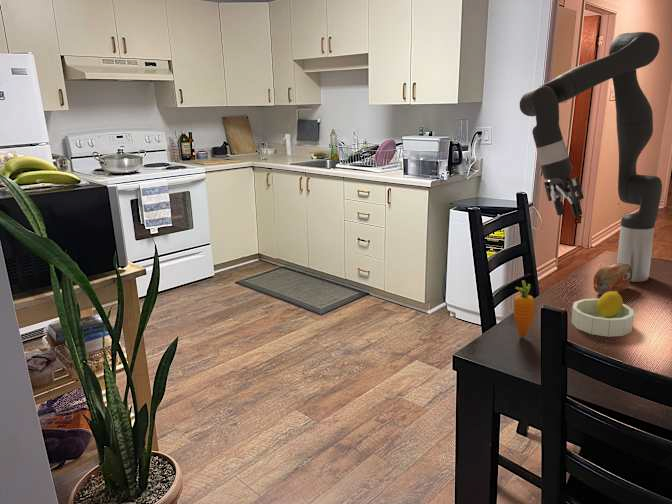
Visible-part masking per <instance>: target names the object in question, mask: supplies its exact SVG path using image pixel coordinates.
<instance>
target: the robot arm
mask: <svg viewBox="0 0 672 504" xmlns="http://www.w3.org/2000/svg"><path fill="white" fill-rule="evenodd" d="M660 46H661V42H660V40H659V37H658V36H657V35H656V34H654V33H652V32H649V31H637V32H627V33H626V32H625V33H620V34H618V35H617V36H616V37H614V39H612V41H611V43H610V47H609V51H608V55H607V56H604V57H601V58H598V59H595V60H592V61H589V62H585V63H583V64H579V65H578V66H576V67H573V68H571V69H569V70H567V71H565V72H563V73H562V74H560V75H558V76H557V77H555V78H553V79H552V80H550V81H548V82H546V83H544V84H542V85H539V86H537V87H534V88H533V89H531V90H529V91H527V92H525V93H524V94H523V95H522V97H521V98H520V100H519V110H520V112H521V114H522V113H523V115H525V116H527V117H535V122H536V125H535V126H534V127H533V128H532V137H533V141H534V144H535V147H536V152H537V158H538V161H539V166H540V169H541V172H542V176H543V179H544V180H545V181H544V182H543V185H544V189H545V192H546V193H545V194H546V196H547V200H548V202H552V204H553V205H554V209H555V211H556V215H557V216H563V215H565V214H566V209H565V205H564V202H563V201H562V199H563V198H564V199H567V201H568V202H569V203H570V207H571V211H572V215H573V217H579V216H583V211H582V210H583V209H582V207H581V203H580V201H581V200H583V199H584V194H583V191H582V188H581V184H580V181H579V179H578V177H574V178H571V177H570V174H571V173H573V171H574V170H573V169H574V168H573V166H572V162H571V158H570V154H569V151H568V147H567V146H566V143H565V141H564V137H563V133H562V130H561V127H560V105H559V104H560V103H562V102H566V101H568V100H571V99H573V98H574V97H576V96H577V97H578V96H579V95H580V94H582V93H584V92H586V91H588V90H590V89H592V88H594V87H596V86H598V85H600V84H602V83H604V82H606V81H609V80H612V84H613V89H614V91H613V92H614V101H615V102H614V103H615V113H616V116H615V119H616V120H615V121H616V122H615V123H616V134H617V145H618V177H617V194H618V197H619V200H620V201H621V202H622V203H624V204H630V205H635V206H636V205H637V206H639V209H638V211H637V212H635V213H629V214H625V215H623V216H622V217H621V219H620V220H621V221H620V230H619V239H618V240H619V241H618V249H617V259H616V263H623V264H628V265H629V266H630V267H631V269H632V278H631V282H633V283H634V282H636V283H637V282H638V283H641V282H645V281H648V279H649V277H650V270H651V261H652V255H653V254H652V253H653V249H652V248H653V243H654V235H655V227H656V226H655V225H656V220H657V218H658V215H659V207H660V204H661V203H660V202H661V197H662V193H663V192H662V191H663V184H662V183H663V181H662V180H661V178H660V177H659V176H656V175H647V174H646V175H645V174H638V173H637V162H638V158H639V157H640V155H641V153H642V152H643V150H644V149H645V148H646V146H647V145H648V143H649V142H650V140H651V138H652V137H653V134H654V119H653V117H654V116H653V115H654V114H653V109H652V106H651V104H650V102H649V100H648V98H647V97H646V95H645V93H644V91H643V89H642V88H641V86H640V84H639V80H638V75H637V69H641V68H644V67H647V66H648V65H650V64H651V63H653V61H654V60H655V59H656V58H657V56H658V54H659V51H660V48H661V47H660Z"/></svg>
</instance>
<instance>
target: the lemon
mask: <svg viewBox="0 0 672 504" xmlns="http://www.w3.org/2000/svg"><path fill="white" fill-rule="evenodd" d="M598 299H599V300H598V303H597V310H598V312H599V313H600V315H601V317H602V318H606V317H613V316H615V315H617V314H618V313H619V311H620V310H621V307H622V304H624V303H623V298H622V296H621V294H619V292H617V291H615V292H612V291H610V292H606V293H605V294H603V295H602V294H601V296H600V297H599V298H598Z"/></svg>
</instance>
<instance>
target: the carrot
mask: <svg viewBox="0 0 672 504" xmlns="http://www.w3.org/2000/svg"><path fill="white" fill-rule="evenodd" d="M521 284H522V285H521V286H522V287H518V286H515V289H516V290H517V291H519V292H520V294H518V295H516V296H514V299H513V317H514V323H515V328H516V330H517V333H518V334H519V338H521V339H524V338H525V337H526V336H527V335H528V333H529V331H530V329H531V328H532V323H533V319H534V315H535V306H536V301H535V299H534V297H533V296H532V295H530V294H529V293H530V289H531V284H530V283H527V282H526V281H525V280H521Z"/></svg>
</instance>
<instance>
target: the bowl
mask: <svg viewBox="0 0 672 504" xmlns="http://www.w3.org/2000/svg"><path fill="white" fill-rule="evenodd" d="M599 299H600V298H583V299H580V300H576V301H574V302H573V303H572V304H573V305H572V309H571V321H570V323H571V324H572V326H573V327H575V328H576V329H577V330H579V331H582V332H584V333H587V334H589V335H595V336H602V337H609V338H610V337H623V336H626V335H628V334H631V333H632V331H633V325H634V316H635V315H634V313H635V312H634V309H633V308H631V307H630V306H628V305H627V304H625V303H623V304H622V307H621V310H620V311H619V313H618V314H617V315H615V316H613V317H606V318H602V317H601V315H600V313H599V312H598V310H597V303H598V300H599Z"/></svg>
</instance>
